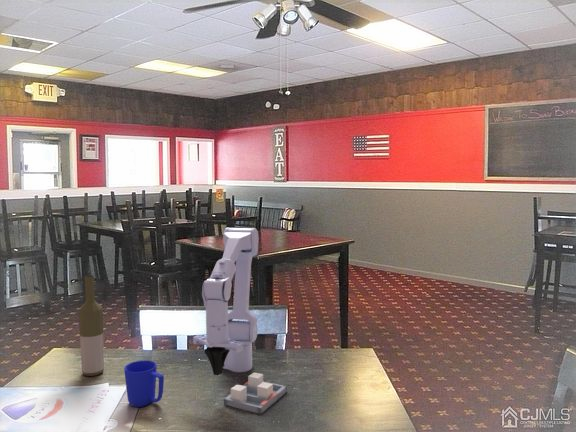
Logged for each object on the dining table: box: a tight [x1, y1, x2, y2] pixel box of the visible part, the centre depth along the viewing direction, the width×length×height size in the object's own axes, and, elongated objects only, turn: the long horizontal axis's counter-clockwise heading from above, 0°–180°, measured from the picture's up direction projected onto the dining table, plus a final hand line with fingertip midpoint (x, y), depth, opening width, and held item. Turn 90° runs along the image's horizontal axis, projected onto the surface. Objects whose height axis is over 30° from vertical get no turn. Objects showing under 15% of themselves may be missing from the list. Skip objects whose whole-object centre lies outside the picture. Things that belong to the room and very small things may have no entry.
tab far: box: [247, 371, 264, 388], centre depth 137 cm, size 3×3×4 cm
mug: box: [123, 360, 165, 408], centre depth 131 cm, size 8×12×10 cm
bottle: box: [78, 274, 105, 377], centre depth 150 cm, size 7×7×30 cm
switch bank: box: [223, 380, 288, 414], centre depth 132 cm, size 11×14×3 cm
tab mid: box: [257, 381, 273, 399], centre depth 131 cm, size 3×3×4 cm
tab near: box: [230, 384, 247, 402], centre depth 129 cm, size 3×3×4 cm
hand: (217, 373), depth 132 cm, fingers closed
